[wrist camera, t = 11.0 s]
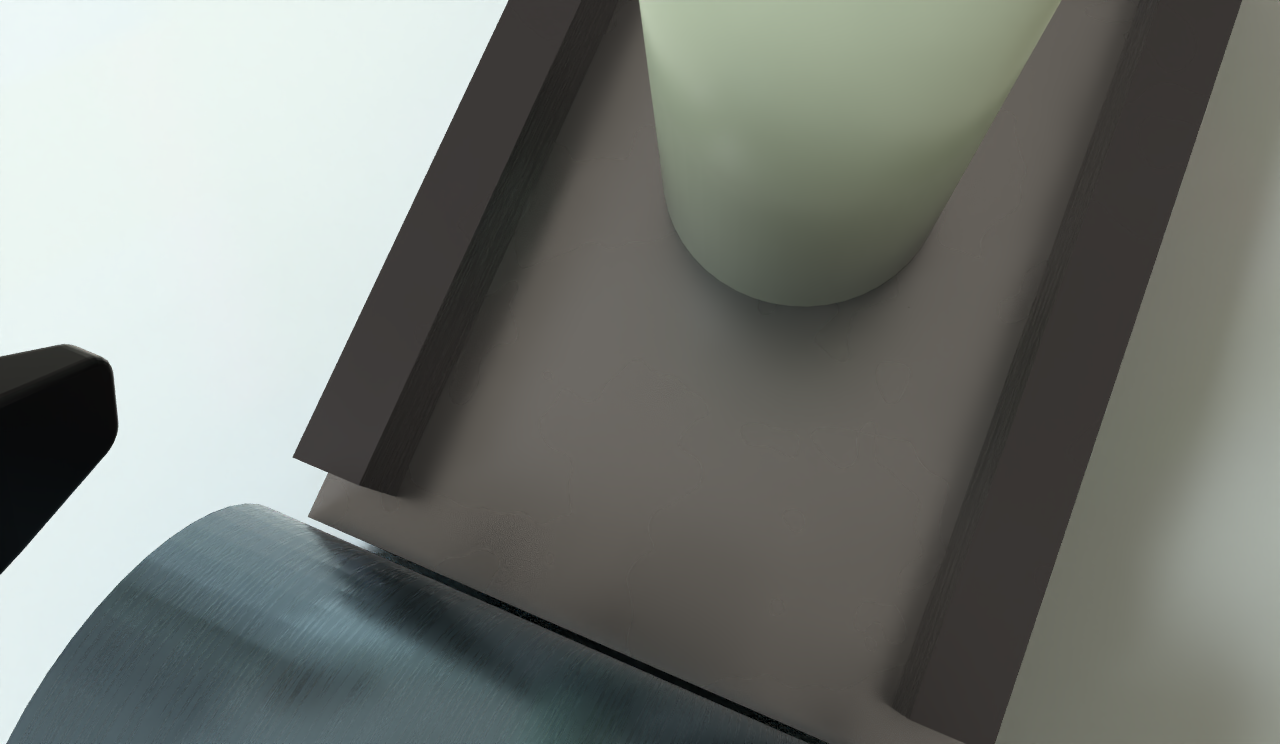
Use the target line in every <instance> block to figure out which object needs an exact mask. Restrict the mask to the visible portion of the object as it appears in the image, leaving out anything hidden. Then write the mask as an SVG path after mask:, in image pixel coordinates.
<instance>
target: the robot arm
mask: <svg viewBox="0 0 1280 744" xmlns="http://www.w3.org/2000/svg"><path fill="white" fill-rule="evenodd" d="M117 432H118V415H117V405H116V395H115V386H114V376H113V370H112V367H111V365H110V364H109V362H108V361H107V360H106V359H104V358H103V357H101V356H98V355H96V354H94V353H91V352H89V351H86V350H84V349H82V348H79V347H77V346H74V345H69V344H62V345H56V346H51V347H46V348H41V349H36V350H31V351H26V352H21V353H16V354H11V355H6V356H1V357H0V574H1V573H2V572H3V571H4V570H5V569H6V568H7V567H8V566H9V565H10V564H11V563H12V561H13V560H14V559H15V558H16V557H17V556H18V555H19V554H20V553H21V552H22V551H23V549H24V548H25V547H26V546H27V545H28V544H29V543H30V541H31V540H32V539H33V538H34V537H35V536H36V534H37V533H38V532H39V531H40V530H41V529H42V528H43V526H44V525H45V524H46V523H47V522H48V521H49V519H50V518H51V517H52V516H53V515H54V514H55V513H56V511H57V510H58V509H59V508H60V507H61V506H62V504H63V503H64V502H65V501H66V500H67V499H68V498H69V496H70V495H71V494H72V493H73V492H74V491H75V489H76V488H77V487H78V486H79V485H80V484H81V483H82V481H83V480H84V479H85V478H86V477H87V476H88V475H89V473H90V472H91V471H92V470H93V469H94V468H95V466H96V465H97V464H98V463H99V462H100V461H101V460H102V458H103V457H104V456H105V455H106V454H107V452H108V451H109V450H110V448H111V446H112V445H113V443H114V441H115V438H116V436H117Z"/></svg>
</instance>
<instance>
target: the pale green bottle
mask: <svg viewBox="0 0 1280 744" xmlns="http://www.w3.org/2000/svg"><path fill="white" fill-rule="evenodd" d="M1060 2H1061V0H639V5H640V12H641V20H642V27H643V35H644V43H645V50H646V58H647V65H648V73H649V81H650V88H651V96H652V103H653V111H654V119H655V126H656V134H657V141H658V149H659V157H660V164H661V172H662V179H663V187H664V195H665V199H666V204H667V208H668V212H669V215H670V217H671V220H672V223H673V225H674V228H675V230H676V231H677V233H678V235H679V237H680V239H681V241H682V242H683V244H684V245H685V247H686V248H687V249H688V251H689V252H690V253H691V255H692V256H693V257H694V258H695V259H696V260H697V261H698V262H699V263H700V265H701V266H702V267H703V268H704V269H705V270H707V271H708V272H709V273H710V274H712V275H713V276H714V277H715V278H717V279H718V280H719V281H721V282H722V283H724V284H726V285H727V286H729V287H731V288H732V289H734V290H736V291H738V292H740V293H743V294H745V295H747V296H750V297H752V298H755V299H759V300H762V301H765V302H769V303H774V304H780V305H786V306H805V307H809V306H820V305H829V304H833V303H838V302H842V301H846V300H849V299H852V298H855V297H857V296H860V295H863V294H865V293H867V292H869V291H871V290H873V289H875V288H877V287H879V286H880V285H882V284H883V283H885V282H886V281H888V280H889V279H890V278H892V277H893V276H895V275H896V274H897V273H898V272H899V271H900V270H901V269H902V268H904V267H905V266H906V265H907V264H908V263H909V262H910V261H911V259H912V258H913V257H914V256H915V255H916V253H917V252H918V251H919V250H920V248H921V247H922V245H923V244H924V242H925V240H926V239H927V237H928V236H929V234H930V232H931V230H932V229H933V227H934V225H935V223H936V222H937V220H938V218H939V216H940V214H941V213H942V211H943V209H944V207H945V206H946V204H947V202H948V200H949V198H950V197H951V195H952V193H953V191H954V190H955V188H956V186H957V184H958V183H959V181H960V179H961V177H962V175H963V174H964V172H965V170H966V168H967V167H968V165H969V163H970V161H971V160H972V158H973V156H974V154H975V152H976V151H977V149H978V147H979V145H980V144H981V142H982V140H983V138H984V137H985V135H986V133H987V131H988V129H989V128H990V126H991V124H992V122H993V121H994V119H995V117H996V115H997V114H998V112H999V110H1000V108H1001V106H1002V105H1003V103H1004V101H1005V99H1006V98H1007V96H1008V94H1009V92H1010V91H1011V89H1012V87H1013V85H1014V83H1015V82H1016V80H1017V78H1018V76H1019V75H1020V73H1021V71H1022V69H1023V68H1024V66H1025V64H1026V62H1027V60H1028V59H1029V57H1030V55H1031V53H1032V52H1033V50H1034V48H1035V46H1036V45H1037V43H1038V41H1039V39H1040V37H1041V36H1042V34H1043V32H1044V30H1045V29H1046V27H1047V25H1048V23H1049V22H1050V20H1051V18H1052V16H1053V14H1054V13H1055V11H1056V9H1057V7H1058V6H1059V4H1060Z"/></svg>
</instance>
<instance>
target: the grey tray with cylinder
mask: <svg viewBox="0 0 1280 744" xmlns="http://www.w3.org/2000/svg"><path fill="white" fill-rule="evenodd" d="M1241 2H1242V0H1061V2H1060V4H1059V6H1058V7H1057V9H1056V11H1055V13H1054V14H1053V16H1052V18H1051V20H1050V22H1049V23H1048V25H1047V27H1046V29H1045V30H1044V32H1043V34H1042V36H1041V37H1040V39H1039V41H1038V43H1037V45H1036V46H1035V48H1034V50H1033V52H1032V53H1031V55H1030V57H1029V59H1028V60H1027V62H1026V64H1025V66H1024V68H1023V69H1022V71H1021V73H1020V75H1019V76H1018V78H1017V80H1016V82H1015V83H1014V85H1013V87H1012V89H1011V91H1010V92H1009V94H1008V96H1007V98H1006V99H1005V101H1004V103H1003V105H1002V106H1001V108H1000V110H999V112H998V114H997V115H996V117H995V119H994V121H993V122H992V124H991V126H990V128H989V129H988V131H987V133H986V135H985V137H984V138H983V140H982V142H981V144H980V145H979V147H978V149H977V151H976V152H975V154H974V156H973V158H972V160H971V161H970V163H969V165H968V167H967V168H966V170H965V172H964V174H963V175H962V177H961V179H960V181H959V183H958V184H957V186H956V188H955V190H954V191H953V193H952V195H951V197H950V198H949V200H948V202H947V204H946V206H945V207H944V209H943V211H942V213H941V214H940V216H939V218H938V220H937V222H936V223H935V225H934V227H933V229H932V230H931V232H930V234H929V236H928V237H927V239H926V240H925V242H924V244H923V245H922V247H921V248H920V250H919V251H918V252H917V253H916V255H915V256H914V257H913V258H912V259H911V261H910V262H909V263H908V264H907V265H906V266H905V267H904V268H902V269H901V270H900V271H899V272H898V273H897V274H896V275H895V276H893V277H892V278H890V279H889V280H888V281H886V282H885V283H883V284H882V285H880V286H879V287H877V288H875V289H873V290H871V291H869V292H867V293H865V294H863V295H860V296H857V297H855V298H852V299H849V300H846V301H842V302H838V303H833V304H829V305H820V306H809V307H805V306H786V305H780V304H774V303H769V302H765V301H762V300H759V299H755V298H752V297H750V296H747V295H745V294H743V293H740V292H738V291H736V290H734V289H732V288H731V287H729V286H727V285H726V284H724V283H722V282H721V281H719V280H718V279H717V278H715V277H714V276H713V275H712V274H710V273H709V272H708V271H707V270H705V269H704V268H703V267H702V266H701V265H700V263H699V262H698V261H697V260H696V259H695V258H694V257H693V256H692V255H691V253H690V252H689V251H688V249H687V248H686V247H685V245H684V244H683V242H682V241H681V239H680V237H679V235H678V233H677V231H676V230H675V228H674V225H673V223H672V220H671V217H670V215H669V212H668V208H667V204H666V199H665V195H664V187H663V179H662V172H661V164H660V157H659V149H658V141H657V134H656V126H655V119H654V111H653V103H652V96H651V88H650V81H649V73H648V65H647V58H646V50H645V43H644V35H643V27H642V20H641V12H640V5H639V0H509V1H508V3H507V5H506V7H505V9H504V11H503V13H502V15H501V18H500V20H499V22H498V24H497V26H496V28H495V30H494V32H493V35H492V37H491V39H490V41H489V43H488V45H487V47H486V49H485V51H484V54H483V56H482V58H481V60H480V62H479V64H478V66H477V68H476V70H475V73H474V75H473V77H472V79H471V81H470V83H469V85H468V87H467V89H466V92H465V94H464V96H463V98H462V100H461V102H460V104H459V106H458V109H457V111H456V113H455V115H454V117H453V119H452V121H451V123H450V125H449V128H448V130H447V132H446V134H445V136H444V138H443V140H442V142H441V144H440V147H439V149H438V151H437V153H436V155H435V157H434V159H433V161H432V163H431V166H430V168H429V170H428V172H427V174H426V176H425V178H424V180H423V182H422V185H421V187H420V189H419V191H418V193H417V195H416V197H415V199H414V202H413V204H412V206H411V208H410V210H409V212H408V214H407V216H406V218H405V221H404V223H403V225H402V227H401V229H400V231H399V233H398V235H397V237H396V240H395V242H394V244H393V246H392V248H391V250H390V252H389V254H388V256H387V259H386V261H385V263H384V265H383V267H382V269H381V271H380V273H379V276H378V278H377V280H376V282H375V284H374V286H373V288H372V290H371V292H370V295H369V297H368V299H367V301H366V303H365V305H364V307H363V309H362V311H361V314H360V316H359V318H358V320H357V322H356V324H355V326H354V328H353V330H352V333H351V335H350V337H349V339H348V341H347V343H346V345H345V347H344V350H343V352H342V354H341V356H340V358H339V360H338V362H337V364H336V366H335V369H334V371H333V373H332V375H331V377H330V379H329V381H328V383H327V385H326V388H325V390H324V392H323V394H322V396H321V398H320V400H319V402H318V404H317V407H316V409H315V411H314V413H313V415H312V417H311V419H310V421H309V424H308V426H307V428H306V430H305V432H304V434H303V436H302V438H301V440H300V443H299V445H298V447H297V449H296V451H295V453H294V455H293V458H295V459H298V460H300V461H302V462H305V463H307V464H309V465H312V466H314V467H316V468H319V469H321V470H324V471H326V472H328V474H327V477H326V479H325V481H324V483H323V485H322V487H321V489H320V492H319V494H318V496H317V498H316V500H315V502H314V504H313V507H312V509H311V511H310V513H309V515H308V517H310V518H312V519H314V520H317V521H319V522H321V523H323V524H326V525H328V526H330V527H333V528H335V529H337V530H340V531H342V532H344V533H346V534H349V535H351V536H353V537H356V538H358V539H360V540H363V541H365V542H367V543H369V544H372V545H374V546H376V547H379V548H381V549H383V550H386V551H388V552H390V553H392V554H395V555H397V556H399V557H402V558H404V559H406V560H409V561H411V562H413V563H415V564H418V565H420V566H422V567H425V568H427V569H429V570H432V571H434V572H436V573H438V574H441V575H443V576H445V577H448V578H450V579H452V580H455V581H457V582H459V583H461V584H464V585H466V586H468V587H471V588H473V589H475V590H478V591H480V592H482V593H484V594H487V595H489V596H491V597H494V598H496V599H498V600H500V601H503V602H505V603H507V604H510V605H512V606H514V607H517V608H519V609H521V610H523V611H526V612H528V613H530V614H533V615H535V616H537V617H540V618H542V619H544V620H546V621H549V622H551V623H553V624H556V625H558V626H560V627H563V628H565V629H567V630H569V631H572V632H574V633H576V634H579V635H581V636H583V637H586V638H588V639H590V640H592V641H595V642H597V643H599V644H602V645H604V646H606V647H609V648H611V649H613V650H615V651H618V652H620V653H622V654H625V655H627V656H629V657H632V658H634V659H636V660H638V661H641V662H643V663H645V664H648V665H650V666H652V667H655V668H657V669H659V670H661V671H664V672H666V673H668V674H671V675H673V676H675V677H678V678H680V679H682V680H684V681H687V682H689V683H691V684H694V685H696V686H698V687H700V688H703V689H705V690H707V691H710V692H712V693H714V694H717V695H719V696H721V697H723V698H726V699H728V700H730V701H733V702H735V703H737V704H740V705H742V706H744V707H746V708H749V709H751V710H753V711H756V712H758V713H760V714H763V715H765V716H767V717H769V718H772V719H774V720H776V721H779V722H781V723H783V724H786V725H788V726H790V727H792V728H795V729H797V730H799V731H802V732H804V733H806V734H809V735H811V736H813V737H815V738H818V739H820V740H822V741H825V742H827V743H829V744H995V741H996V738H997V735H998V732H999V729H1000V726H1001V723H1002V720H1003V717H1004V714H1005V711H1006V708H1007V705H1008V702H1009V699H1010V696H1011V693H1012V690H1013V687H1014V684H1015V681H1016V678H1017V675H1018V672H1019V669H1020V666H1021V663H1022V660H1023V657H1024V654H1025V651H1026V648H1027V645H1028V642H1029V639H1030V636H1031V633H1032V630H1033V627H1034V624H1035V621H1036V618H1037V615H1038V612H1039V609H1040V606H1041V603H1042V600H1043V597H1044V594H1045V591H1046V588H1047V585H1048V582H1049V579H1050V576H1051V573H1052V570H1053V567H1054V564H1055V561H1056V558H1057V555H1058V552H1059V549H1060V546H1061V543H1062V540H1063V537H1064V534H1065V531H1066V528H1067V525H1068V522H1069V518H1070V515H1071V512H1072V509H1073V506H1074V503H1075V500H1076V497H1077V494H1078V491H1079V488H1080V485H1081V482H1082V479H1083V476H1084V473H1085V470H1086V467H1087V464H1088V461H1089V458H1090V455H1091V452H1092V449H1093V446H1094V443H1095V440H1096V437H1097V434H1098V431H1099V428H1100V425H1101V422H1102V419H1103V416H1104V413H1105V410H1106V407H1107V404H1108V401H1109V398H1110V395H1111V392H1112V389H1113V386H1114V383H1115V380H1116V377H1117V374H1118V371H1119V368H1120V365H1121V362H1122V359H1123V356H1124V353H1125V350H1126V347H1127V344H1128V341H1129V338H1130V335H1131V332H1132V329H1133V326H1134V323H1135V320H1136V317H1137V314H1138V311H1139V308H1140V305H1141V302H1142V299H1143V296H1144V293H1145V290H1146V287H1147V284H1148V281H1149V278H1150V275H1151V272H1152V269H1153V266H1154V263H1155V260H1156V257H1157V254H1158V251H1159V248H1160V245H1161V242H1162V239H1163V236H1164V233H1165V230H1166V227H1167V224H1168V221H1169V218H1170V215H1171V212H1172V209H1173V206H1174V203H1175V200H1176V197H1177V194H1178V191H1179V188H1180V185H1181V182H1182V179H1183V176H1184V173H1185V170H1186V167H1187V164H1188V161H1189V158H1190V155H1191V152H1192V149H1193V146H1194V143H1195V140H1196V137H1197V134H1198V131H1199V128H1200V125H1201V122H1202V119H1203V116H1204V113H1205V110H1206V107H1207V104H1208V101H1209V98H1210V95H1211V92H1212V89H1213V86H1214V83H1215V80H1216V77H1217V74H1218V71H1219V68H1220V65H1221V62H1222V59H1223V56H1224V53H1225V50H1226V47H1227V44H1228V41H1229V38H1230V35H1231V32H1232V29H1233V26H1234V23H1235V20H1236V17H1237V14H1238V11H1239V8H1240V5H1241ZM6 744H809V743H807V742H804V741H802V740H800V739H798V738H795V737H793V736H791V735H788V734H786V733H784V732H782V731H779V730H777V729H775V728H772V727H770V726H768V725H766V724H763V723H761V722H759V721H756V720H754V719H752V718H749V717H747V716H745V715H743V714H740V713H738V712H736V711H733V710H731V709H729V708H727V707H724V706H722V705H720V704H717V703H715V702H713V701H711V700H708V699H706V698H704V697H701V696H699V695H697V694H694V693H692V692H690V691H688V690H685V689H683V688H681V687H678V686H676V685H674V684H672V683H669V682H667V681H665V680H662V679H660V678H658V677H656V676H653V675H651V674H649V673H646V672H644V671H642V670H640V669H637V668H635V667H633V666H630V665H628V664H626V663H623V662H621V661H619V660H617V659H614V658H612V657H610V656H607V655H605V654H603V653H601V652H598V651H596V650H594V649H591V648H589V647H587V646H585V645H582V644H580V643H578V642H575V641H573V640H571V639H568V638H566V637H564V636H562V635H559V634H557V633H555V632H552V631H550V630H548V629H546V628H543V627H541V626H539V625H536V624H534V623H532V622H530V621H527V620H525V619H523V618H520V617H518V616H516V615H513V614H511V613H509V612H507V611H504V610H502V609H500V608H497V607H495V606H493V605H491V604H488V603H486V602H484V601H481V600H479V599H477V598H475V597H472V596H470V595H468V594H465V593H463V592H461V591H459V590H456V589H454V588H452V587H449V586H447V585H445V584H442V583H440V582H438V581H436V580H433V579H431V578H429V577H426V576H424V575H422V574H420V573H417V572H415V571H413V570H410V569H408V568H406V567H404V566H401V565H399V564H397V563H394V562H392V561H390V560H387V559H385V558H383V557H381V556H378V555H376V554H374V553H371V552H369V551H367V550H365V549H362V548H360V547H358V546H355V545H353V544H351V543H349V542H346V541H344V540H342V539H339V538H337V537H335V536H332V535H330V534H328V533H326V532H323V531H321V530H319V529H316V528H314V527H312V526H310V525H307V524H305V523H303V522H300V521H298V520H296V519H294V518H291V517H289V516H287V515H284V514H282V513H280V512H278V511H275V510H273V509H271V508H268V507H265V506H262V505H259V504H241V505H235V506H230V507H227V508H224V509H221V510H218V511H216V512H213V513H211V514H209V515H207V516H205V517H203V518H201V519H199V520H197V521H195V522H194V523H192V524H190V525H189V526H187V527H186V528H184V529H183V530H181V531H180V532H178V533H177V534H175V535H174V536H172V537H171V538H169V539H168V540H167V541H166V542H164V543H163V544H162V545H161V546H159V547H158V548H157V549H156V550H155V551H153V552H152V553H151V554H150V555H148V556H147V557H146V558H145V559H144V560H143V561H142V562H141V563H140V564H139V565H138V566H137V567H135V568H134V569H133V570H132V571H131V572H130V573H129V574H128V575H127V576H126V577H125V578H124V579H123V580H122V581H121V582H120V583H119V584H118V585H117V586H116V587H115V588H114V590H113V591H112V592H111V593H110V594H109V595H108V596H107V597H106V598H105V599H104V600H103V602H102V603H101V604H100V605H99V606H98V607H97V608H96V609H95V611H94V612H93V613H92V614H91V615H90V617H89V618H88V619H87V620H86V622H85V623H84V624H83V625H82V627H81V628H80V629H79V630H78V632H77V633H76V634H75V635H74V637H73V638H72V639H71V640H70V642H69V643H68V645H67V646H66V648H65V649H64V650H63V652H62V653H61V655H60V656H59V657H58V659H57V660H56V662H55V663H54V664H53V666H52V667H51V669H50V670H49V672H48V673H47V675H46V676H45V678H44V679H43V681H42V683H41V684H40V686H39V687H38V689H37V691H36V692H35V694H34V695H33V697H32V699H31V700H30V702H29V703H28V705H27V707H26V708H25V710H24V712H23V714H22V716H21V717H20V719H19V721H18V723H17V725H16V727H15V729H14V730H13V732H12V734H11V736H10V738H9V740H8V742H7V743H6Z"/></svg>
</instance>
